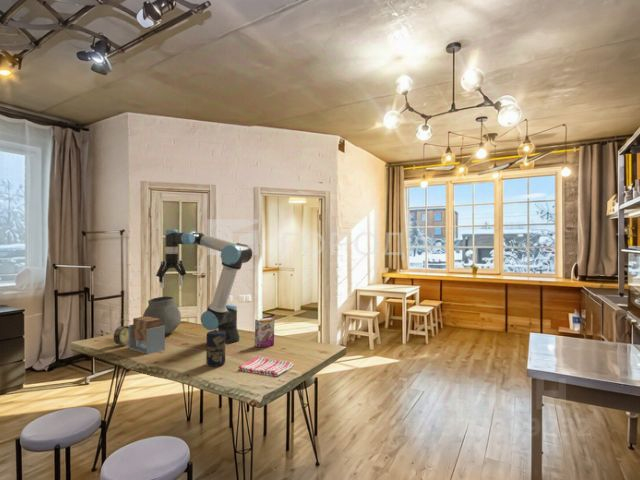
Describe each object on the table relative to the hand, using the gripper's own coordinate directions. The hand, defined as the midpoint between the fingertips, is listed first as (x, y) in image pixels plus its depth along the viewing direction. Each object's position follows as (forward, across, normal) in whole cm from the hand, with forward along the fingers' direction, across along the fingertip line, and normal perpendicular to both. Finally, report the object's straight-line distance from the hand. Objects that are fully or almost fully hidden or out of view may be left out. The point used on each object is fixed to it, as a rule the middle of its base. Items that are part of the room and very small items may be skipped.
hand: (171, 286), depth 238 cm
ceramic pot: (+35, +6, +19) cm, 40 cm away
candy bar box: (+35, +24, -58) cm, 72 cm away
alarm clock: (+35, -24, +14) cm, 45 cm away
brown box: (+29, -20, -5) cm, 35 cm away
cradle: (+35, -20, -5) cm, 40 cm away
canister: (+35, -16, -60) cm, 71 cm away
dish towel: (+36, -6, -86) cm, 93 cm away
